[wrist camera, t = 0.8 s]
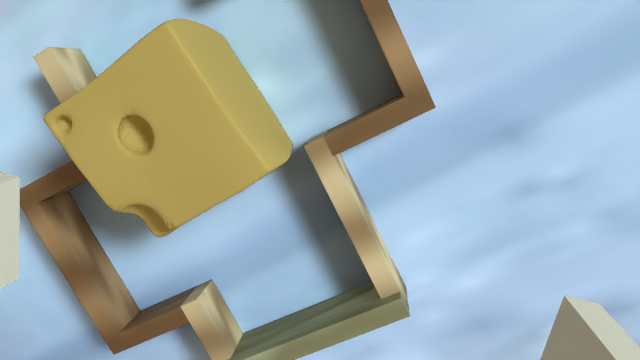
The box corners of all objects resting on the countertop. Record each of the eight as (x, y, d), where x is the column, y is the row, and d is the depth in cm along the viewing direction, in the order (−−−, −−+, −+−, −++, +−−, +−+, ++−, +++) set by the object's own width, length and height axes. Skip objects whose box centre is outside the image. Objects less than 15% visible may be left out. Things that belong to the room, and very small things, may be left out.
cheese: (199, 212, 37) (137, 262, 28) (120, 100, 36) (26, 111, 26) (304, 145, 35) (276, 174, 25) (224, 23, 34) (163, 4, 24)
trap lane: (-6, 101, 37) (-56, 105, 33) (335, -106, 31) (328, -135, 26) (166, 381, 42) (141, 417, 37) (496, 251, 35) (513, 276, 31)
